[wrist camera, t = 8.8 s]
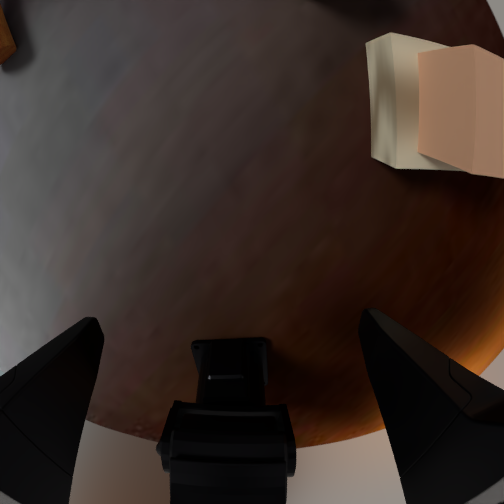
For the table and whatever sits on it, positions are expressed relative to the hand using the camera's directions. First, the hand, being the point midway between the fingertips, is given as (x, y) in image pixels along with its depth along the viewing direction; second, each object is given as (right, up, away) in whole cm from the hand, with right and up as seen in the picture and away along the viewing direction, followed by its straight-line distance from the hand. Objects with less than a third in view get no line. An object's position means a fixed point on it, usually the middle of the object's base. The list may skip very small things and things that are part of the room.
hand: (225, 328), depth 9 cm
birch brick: (+11, +13, +7) cm, 19 cm away
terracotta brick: (+12, +11, +4) cm, 17 cm away
